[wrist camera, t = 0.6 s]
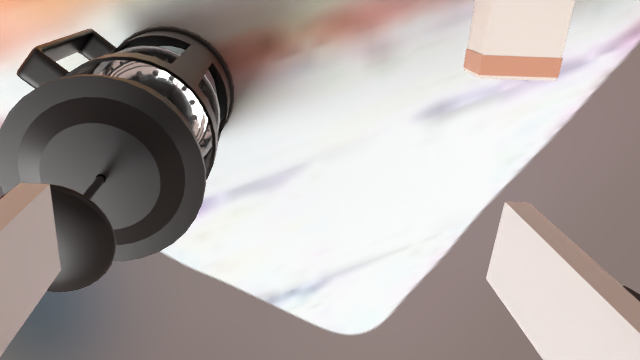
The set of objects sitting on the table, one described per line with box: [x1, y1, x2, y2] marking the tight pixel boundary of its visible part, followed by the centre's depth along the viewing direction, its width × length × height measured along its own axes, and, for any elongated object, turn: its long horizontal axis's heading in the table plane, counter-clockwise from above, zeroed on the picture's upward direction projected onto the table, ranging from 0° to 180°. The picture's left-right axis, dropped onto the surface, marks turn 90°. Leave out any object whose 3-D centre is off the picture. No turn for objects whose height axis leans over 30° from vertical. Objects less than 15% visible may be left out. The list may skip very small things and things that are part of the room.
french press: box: [0, 26, 234, 292], centre depth 27 cm, size 12×9×23 cm
